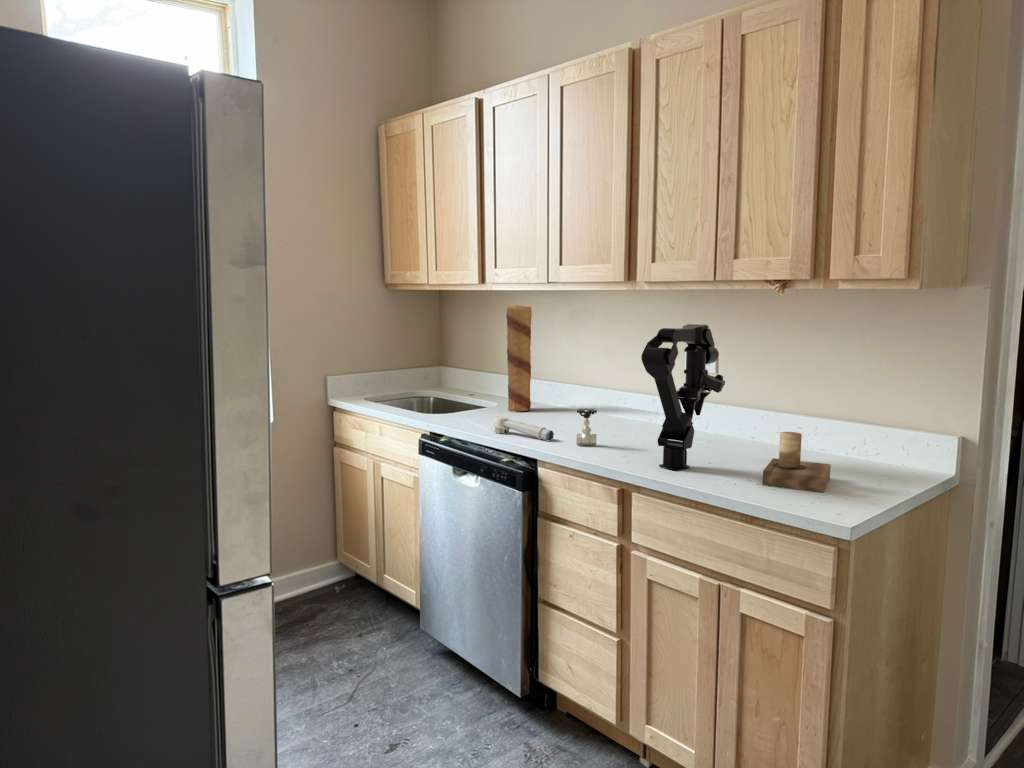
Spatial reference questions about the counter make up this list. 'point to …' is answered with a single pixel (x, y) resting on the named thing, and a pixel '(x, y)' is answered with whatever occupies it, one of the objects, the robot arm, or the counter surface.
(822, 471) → the seat block
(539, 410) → the counter surface
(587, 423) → the valve
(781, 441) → the dowel
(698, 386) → the robot arm
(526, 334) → the wafer roll
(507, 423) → the off-white plastic cylinder
